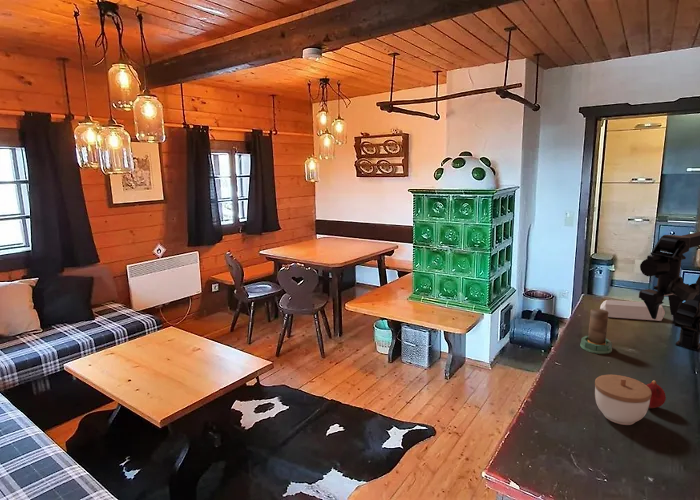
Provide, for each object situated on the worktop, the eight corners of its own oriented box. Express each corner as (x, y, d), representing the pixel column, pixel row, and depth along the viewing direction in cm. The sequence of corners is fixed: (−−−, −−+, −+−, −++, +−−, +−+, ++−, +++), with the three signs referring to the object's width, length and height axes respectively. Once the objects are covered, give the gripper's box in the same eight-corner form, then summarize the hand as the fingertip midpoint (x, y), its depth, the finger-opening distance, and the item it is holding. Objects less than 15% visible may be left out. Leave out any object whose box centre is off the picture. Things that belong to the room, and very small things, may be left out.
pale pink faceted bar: (660, 306, 188) (597, 302, 195) (666, 303, 182) (601, 298, 189) (661, 323, 186) (597, 319, 193) (668, 321, 179) (601, 316, 187)
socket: (587, 340, 165) (588, 332, 165) (616, 348, 158) (617, 340, 157) (575, 347, 159) (575, 340, 159) (605, 356, 152) (605, 349, 151)
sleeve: (595, 341, 162) (599, 308, 159) (608, 347, 157) (612, 313, 154) (583, 344, 160) (586, 309, 158) (596, 350, 155) (599, 315, 152)
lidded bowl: (583, 404, 123) (586, 368, 121) (629, 404, 123) (633, 367, 121) (608, 431, 111) (612, 391, 109) (659, 431, 111) (664, 391, 108)
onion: (668, 414, 117) (671, 387, 116) (644, 412, 119) (647, 385, 117) (657, 403, 123) (661, 376, 121) (634, 401, 124) (638, 375, 123)
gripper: (673, 282, 137) (667, 329, 141) (714, 275, 143) (707, 321, 147) (640, 273, 148) (635, 317, 151) (679, 267, 154) (673, 310, 157)
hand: (663, 317), depth 151 cm, fingers open, 9 cm apart
